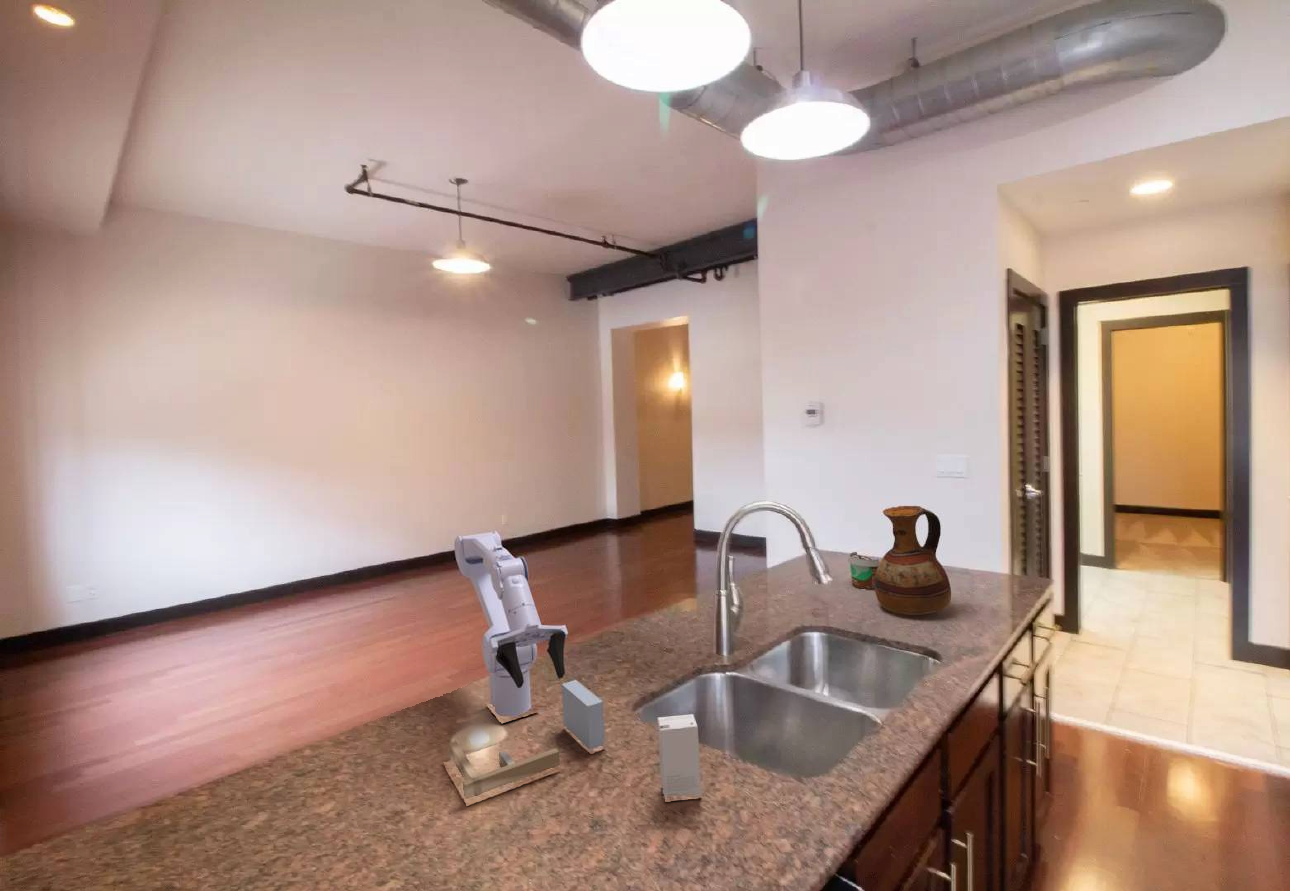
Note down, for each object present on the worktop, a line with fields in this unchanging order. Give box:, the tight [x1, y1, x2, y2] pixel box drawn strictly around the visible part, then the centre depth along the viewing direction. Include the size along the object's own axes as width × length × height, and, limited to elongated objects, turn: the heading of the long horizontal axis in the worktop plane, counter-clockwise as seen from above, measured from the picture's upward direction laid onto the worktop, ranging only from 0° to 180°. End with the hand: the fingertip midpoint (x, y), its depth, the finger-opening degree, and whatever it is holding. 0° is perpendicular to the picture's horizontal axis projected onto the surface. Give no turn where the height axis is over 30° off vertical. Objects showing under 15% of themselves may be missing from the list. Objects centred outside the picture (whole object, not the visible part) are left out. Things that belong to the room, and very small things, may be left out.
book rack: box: [448, 740, 561, 799], centre depth 108 cm, size 14×16×4 cm
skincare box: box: [656, 713, 702, 798], centre depth 99 cm, size 6×4×12 cm
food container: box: [847, 551, 880, 591], centre depth 201 cm, size 12×6×10 cm, turn 17°
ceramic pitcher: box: [874, 505, 952, 615], centre depth 178 cm, size 20×20×30 cm
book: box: [561, 679, 606, 749], centre depth 116 cm, size 11×3×9 cm, turn 32°
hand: (541, 680), depth 110 cm, fingers open, 7 cm apart
